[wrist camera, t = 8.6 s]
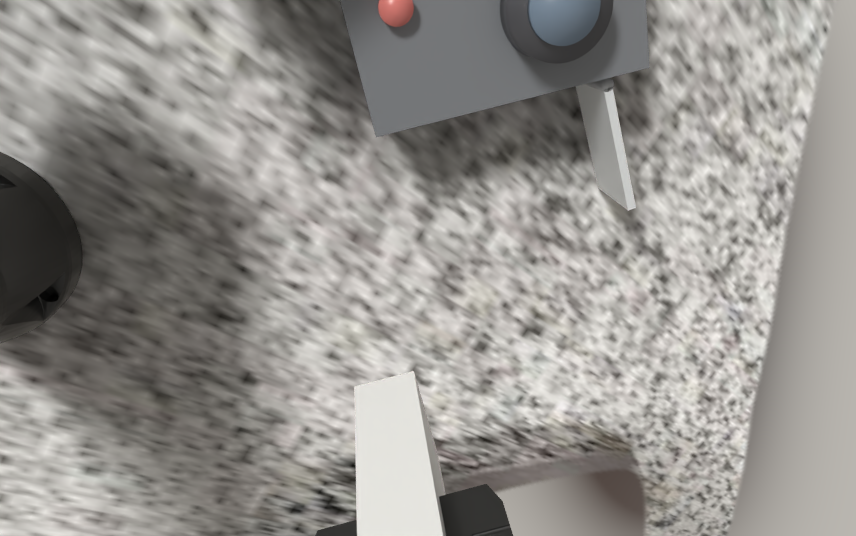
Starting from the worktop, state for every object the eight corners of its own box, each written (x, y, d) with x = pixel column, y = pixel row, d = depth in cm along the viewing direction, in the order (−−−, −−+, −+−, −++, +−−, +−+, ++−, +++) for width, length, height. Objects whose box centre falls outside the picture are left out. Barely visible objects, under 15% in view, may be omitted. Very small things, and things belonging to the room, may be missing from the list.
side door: (606, 184, 47) (637, 206, 42) (596, 188, 47) (626, 211, 42) (581, 66, 43) (612, 75, 38) (570, 71, 43) (599, 80, 38)
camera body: (372, 119, 43) (379, 151, 34) (332, -31, 39) (328, -40, 30) (605, 60, 44) (673, 76, 35) (592, -96, 39) (666, -124, 30)
